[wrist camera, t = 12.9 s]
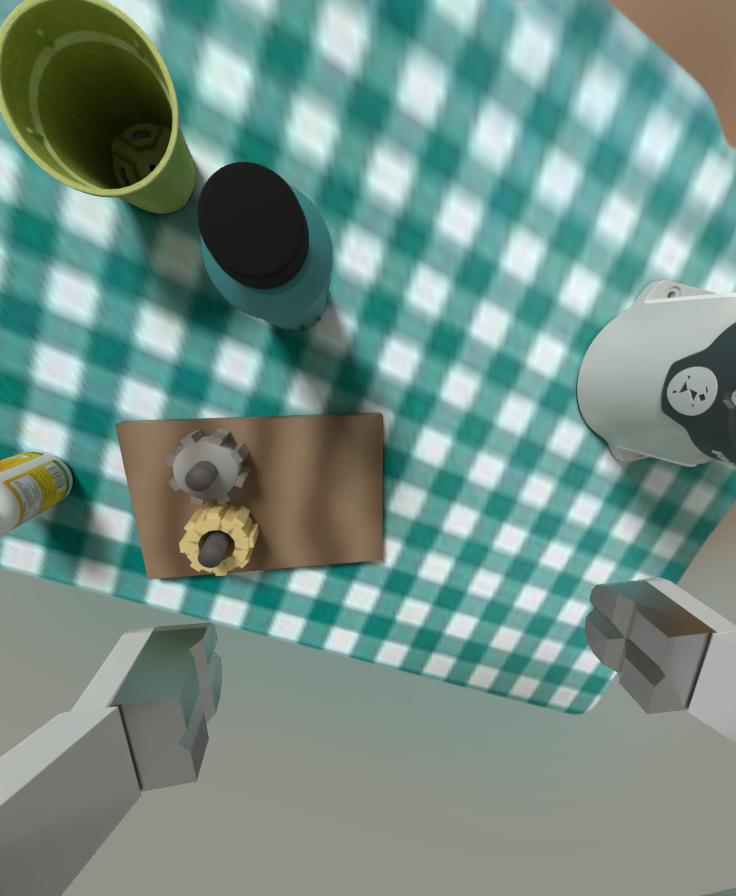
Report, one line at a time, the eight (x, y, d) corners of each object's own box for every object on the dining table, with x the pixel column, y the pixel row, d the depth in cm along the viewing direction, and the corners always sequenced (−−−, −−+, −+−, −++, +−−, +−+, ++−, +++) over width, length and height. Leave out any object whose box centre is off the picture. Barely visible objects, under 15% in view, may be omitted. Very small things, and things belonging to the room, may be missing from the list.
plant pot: (64, 116, 27) (-50, 16, 19) (185, 80, 27) (127, -35, 19) (127, 251, 30) (53, 216, 21) (236, 216, 30) (205, 169, 22)
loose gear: (255, 497, 35) (249, 511, 32) (261, 555, 37) (256, 573, 34) (185, 501, 35) (173, 516, 32) (195, 560, 36) (184, 579, 34)
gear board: (380, 412, 36) (392, 427, 30) (380, 552, 41) (391, 589, 34) (124, 421, 33) (79, 438, 27) (154, 570, 38) (122, 615, 32)
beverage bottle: (303, 347, 33) (283, 352, 14) (239, 301, 32) (119, 239, 13) (343, 286, 32) (377, 205, 13) (279, 235, 31) (214, 60, 12)
